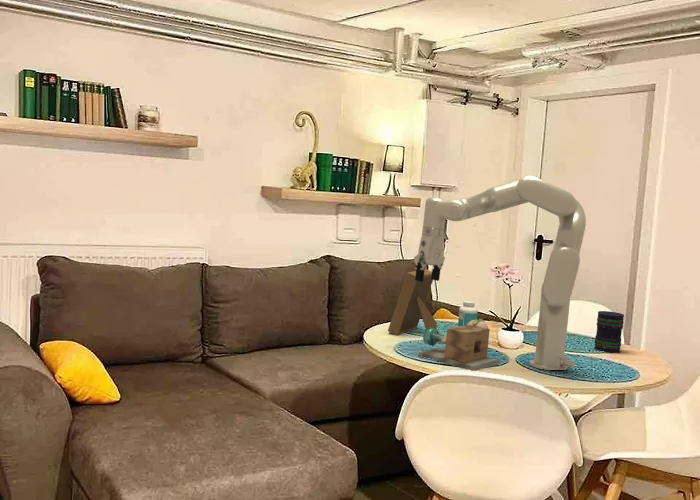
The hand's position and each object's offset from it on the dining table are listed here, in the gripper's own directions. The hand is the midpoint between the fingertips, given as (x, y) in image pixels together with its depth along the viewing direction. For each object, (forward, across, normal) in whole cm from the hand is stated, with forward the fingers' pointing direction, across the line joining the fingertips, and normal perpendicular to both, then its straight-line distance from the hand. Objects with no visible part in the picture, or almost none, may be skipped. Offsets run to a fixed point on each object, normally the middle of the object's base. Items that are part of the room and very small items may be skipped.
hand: (427, 280), depth 251 cm
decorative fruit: (+25, +31, -4) cm, 40 cm away
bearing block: (+25, -2, -17) cm, 30 cm away
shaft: (+22, -2, -13) cm, 25 cm away
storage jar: (+23, +69, -41) cm, 84 cm away
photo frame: (+25, +24, +19) cm, 40 cm away
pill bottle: (+25, +42, +7) cm, 49 cm away
